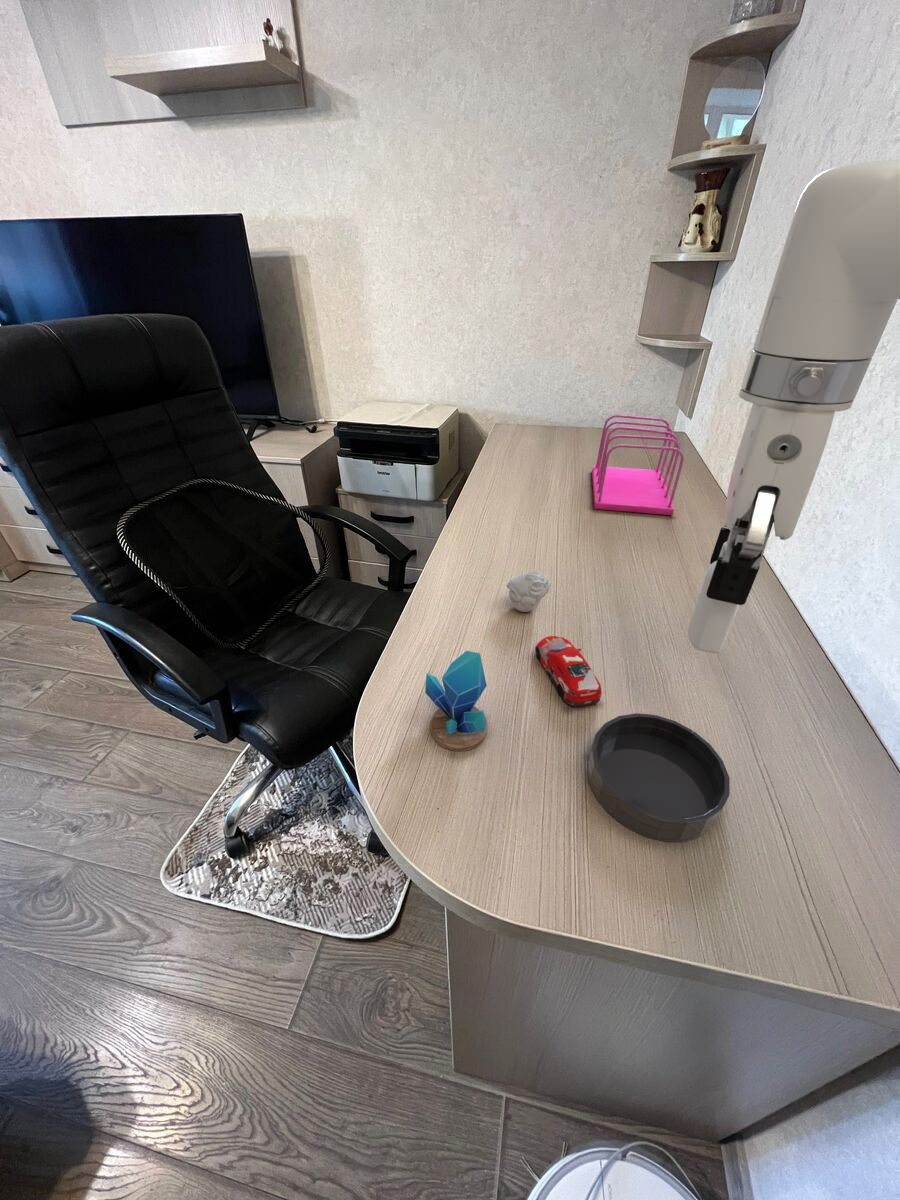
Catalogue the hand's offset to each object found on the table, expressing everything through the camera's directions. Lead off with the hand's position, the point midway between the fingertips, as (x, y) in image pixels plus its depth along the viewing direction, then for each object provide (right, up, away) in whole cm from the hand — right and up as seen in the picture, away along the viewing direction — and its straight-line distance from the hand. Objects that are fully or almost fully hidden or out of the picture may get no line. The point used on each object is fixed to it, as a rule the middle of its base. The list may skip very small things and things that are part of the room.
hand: (726, 581), depth 48 cm
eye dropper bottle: (0, -6, +4) cm, 7 cm away
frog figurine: (-14, -3, +36) cm, 39 cm away
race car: (-10, -13, +23) cm, 28 cm away
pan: (-4, -22, +8) cm, 24 cm away
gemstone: (-25, -18, +15) cm, 35 cm away
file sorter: (+18, +25, +77) cm, 83 cm away
